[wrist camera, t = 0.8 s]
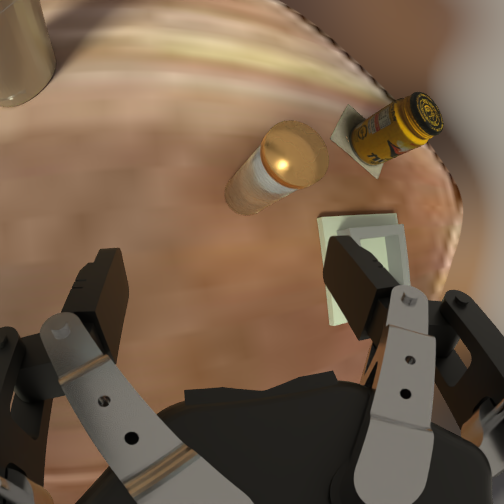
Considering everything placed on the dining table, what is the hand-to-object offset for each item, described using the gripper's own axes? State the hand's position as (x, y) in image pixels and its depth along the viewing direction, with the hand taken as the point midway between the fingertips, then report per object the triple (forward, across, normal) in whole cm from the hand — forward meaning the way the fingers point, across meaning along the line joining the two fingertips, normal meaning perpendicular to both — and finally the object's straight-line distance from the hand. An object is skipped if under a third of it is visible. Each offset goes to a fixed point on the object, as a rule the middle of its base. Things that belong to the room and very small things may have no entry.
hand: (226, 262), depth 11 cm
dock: (+17, -18, +13) cm, 28 cm away
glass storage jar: (+20, -4, +5) cm, 21 cm away
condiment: (+27, -21, -1) cm, 34 cm away
